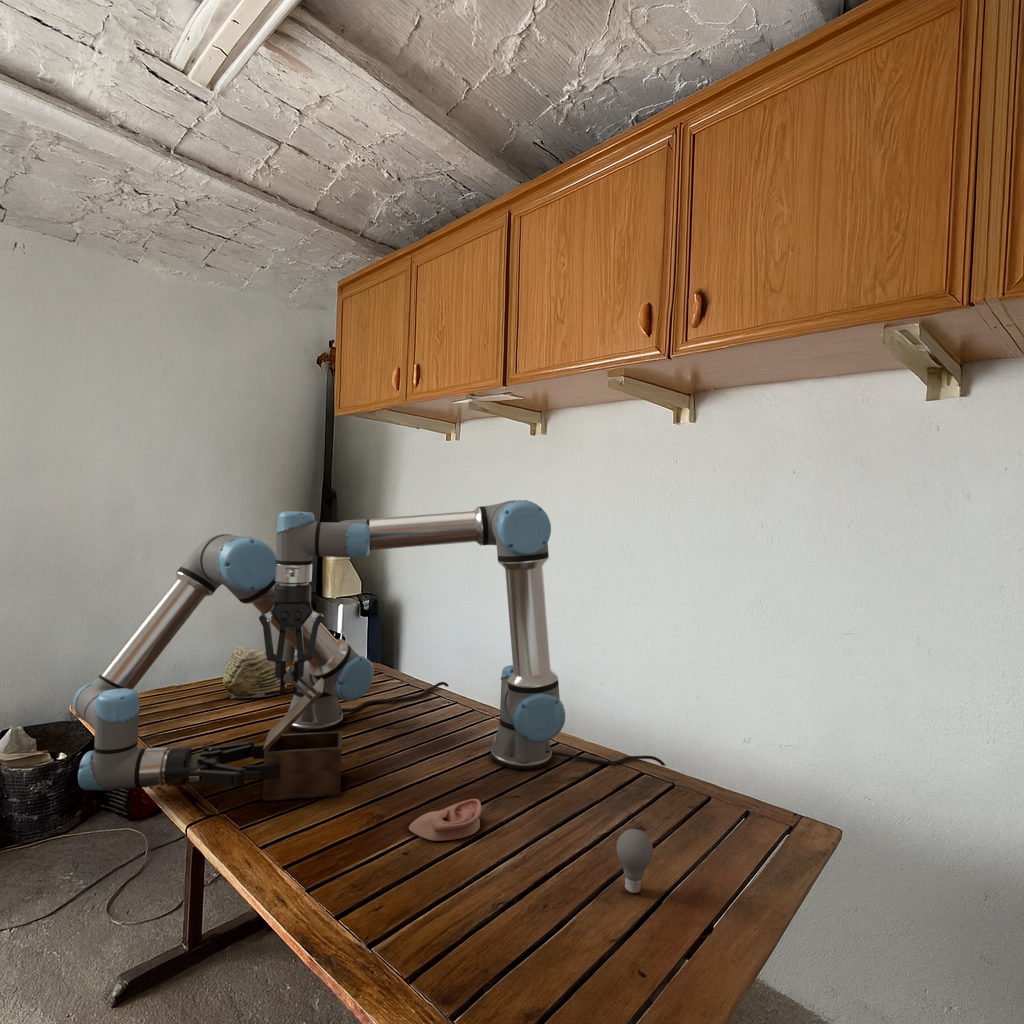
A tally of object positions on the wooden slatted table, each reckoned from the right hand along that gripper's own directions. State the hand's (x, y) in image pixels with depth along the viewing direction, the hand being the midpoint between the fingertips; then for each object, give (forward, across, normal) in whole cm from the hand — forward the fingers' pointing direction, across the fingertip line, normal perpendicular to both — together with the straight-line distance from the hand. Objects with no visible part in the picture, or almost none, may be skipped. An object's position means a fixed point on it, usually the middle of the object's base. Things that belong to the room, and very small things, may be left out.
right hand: (288, 692), depth 136 cm
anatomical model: (+21, +32, -22) cm, 44 cm away
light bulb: (+21, +59, -47) cm, 79 cm away
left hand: (+15, -1, 0) cm, 15 cm away
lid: (+5, +2, 0) cm, 5 cm away
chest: (+21, +4, 0) cm, 21 cm away
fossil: (+21, -15, +67) cm, 72 cm away
